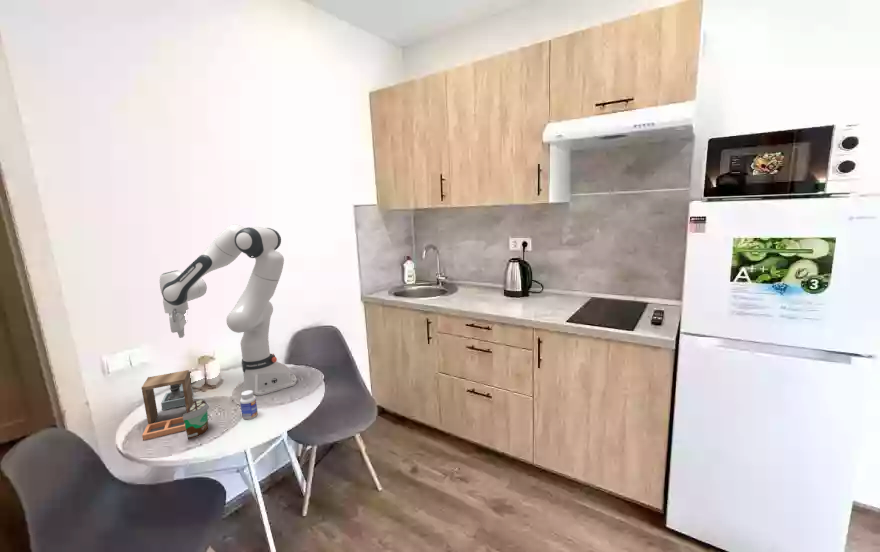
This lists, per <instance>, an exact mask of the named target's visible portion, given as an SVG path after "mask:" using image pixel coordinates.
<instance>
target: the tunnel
mask: <svg viewBox="0 0 880 552" xmlns="http://www.w3.org/2000/svg"><path fill="white" fill-rule="evenodd" d="M189 372H190V371H189V369H187V370H181V371H175V372H171V373H170V372H169V373H164V374H159V375H153V376H148V377H147V378H146V380H145V382H144V383H143V384H142V386H141V391H142V397H143V403H144V408H145V410H144V411H145V413H146V414H145V415H146V420H147V425H148V424H152V423H156V421H157V418H158V417H159V414H158V408H157V402H156V397H155V396H156V395H155V391H154V389H157V388H158V389H159V388H163V387H164V388H165V387H169V386H170V385H174V384H180V383H182V386H183V392H184V398H185V405H184V406H185V409H186V412H187V411H188V409H189V407H190V406H191V405H192V404H193V402H194V400H193V399H194V395H192V388H193V387H192V385H191V384H192V383H191V382H190V376H189Z"/></svg>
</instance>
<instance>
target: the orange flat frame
mask: <svg viewBox="0 0 880 552" xmlns="http://www.w3.org/2000/svg"><path fill="white" fill-rule="evenodd" d="M181 432H186V427H185V423H184V420H183V416H181V417H180V416H178V417H176V418H171V419H166V420H161V421H157V422H156V421H155V423H152V424H148V423H147V425H146V426H145V429H144V431H143V433H142V435H141V437H142V441H147V440H152V439H153V440H154V439H156V438H161V437H165V436H168V435H173V434H178V433H181Z"/></svg>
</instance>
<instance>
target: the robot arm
mask: <svg viewBox="0 0 880 552" xmlns="http://www.w3.org/2000/svg"><path fill="white" fill-rule="evenodd" d="M281 244H282V238H281V235H280V233H279V232H278V231H277V230H275V229H274V228H270V227H261V226H254V227H253V226H252V227H244V226H242V225H240V224H232V225H229V226H227V228H225V229H224V230H223V231H222V232H220V233H219V234H218V235H217V237H216V238H214V240H213V241H212V242H211V243H210V245H209V246H208V247H206V249H205V250H204V251H203V252H202V253H201V254H200V255H199V256H198V257H197V258H195V259H194V260H193V261H192V263H191V264H189V265H188V266H187V267H186V268H185V269H184V270H183V271H181V270H178V269H177V270H171V271H168V272H163V273H162V274H161V275H159V276H160V277H159V287H160V289H159V290H160V293H161V295H162V297H163V299H162V305H163V309H164V313H165V314H168V317H169V327H170V332H171V333H173V334H174V333H177V335H178V338H179V339H181V338H184V337H185V325H186V324H187V322H186V320H185V316H184V314H185V313H186V310H187V311H188V310H189V309H190V308H189V303H188V302H190V301H193V300H195V299H198V298H201V297H203V296H204V295H205V294H206V293H207V288H208V287H207V284H206V281H205V280H204V279H202V277H204V276H205V275H207V274H209V273H211V272H213V271H215V270H218V269H221V268H224V267H227V266H228V265H230V264H231V263H232V262H234V261H235V260H236V259H237V258H238V256H240V255H241V254H242V253H243V254H245V255H246V256H247V257H248V258H250V259H255V264H254V266H253V269H252V272H251V273H250V277H249V278H248V282H247V285H246V287H245V289H244V291H243V292H242V294H241V295H240V297H239V298H238V300H237V302H236V304H235V305H234V307H233V308H232V310H231V311H230V312H229V313H228V315H227V317H226V325H227V328H229V330H230V331H232V332H234V333H238V334H239V333H240V334H241V333H243V335H242V337H241V340H240V349H241V358H242V359H241V369H242V372H243V385H242V389H241V391H242V392H244V391H247V390H252V391H253V395H254V396H263V395H266V394H269V393H273V392H277V391H280V390H284V389H287V388H291V387H293V386H295V385H296V384H297V377H296V375H295V374H294V373H292V372H291V370H290V369H289V367H288V366H287V365H286V364H285V363H281V362H278V359H277V357H276V354H275V353H270V344H269V342H270V341H269V332H270V326H271V325H270V323H271V317H272V315H273V314H274V313H273V312H274V307H273V303H272V302H271V301H270V300H271V299H272V298H273V296H274V294H275V293H276V290H277V289H276V288H277V287H278V285H279V281H280V279H281V276H282V272H283V269H284V263H285V258H284V256H283V254H281V253H280V252H279V251H277V250H278V249H279V248H280V246H281Z"/></svg>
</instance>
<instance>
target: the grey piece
mask: <svg viewBox="0 0 880 552" xmlns="http://www.w3.org/2000/svg"><path fill="white" fill-rule="evenodd" d="M190 373H191V371H189V376H190ZM190 382H191V378H190ZM179 386H180V387H179V388H180V392H181V393H184V392H183V386H182V383H180V384H179ZM191 388H192V395H193V396H194V395H195V394H194V388H193V387H191ZM169 396H171V391H170V392H166V393H165V394H164V396H163V399H162V400H161V403H160V404H161V410H162V411H163V410H164V411H165V410H169V409H174V408H178V407H182V406H183V407H184V406H186V405H185V398H180V399H175V400H170V401H169V400H168V397H169Z"/></svg>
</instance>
